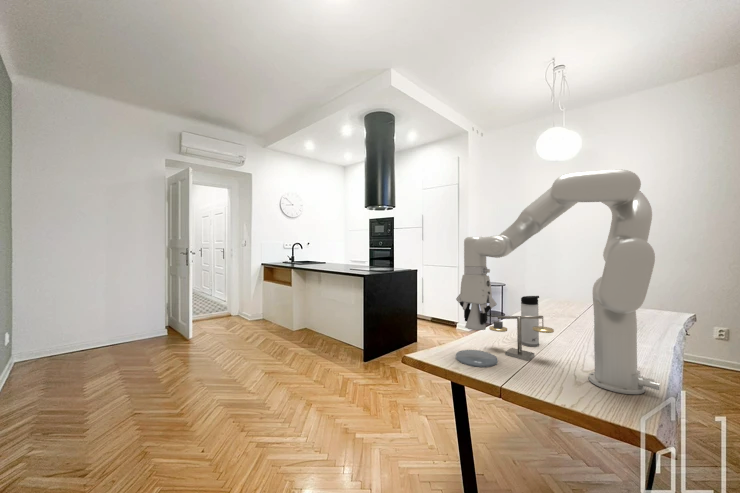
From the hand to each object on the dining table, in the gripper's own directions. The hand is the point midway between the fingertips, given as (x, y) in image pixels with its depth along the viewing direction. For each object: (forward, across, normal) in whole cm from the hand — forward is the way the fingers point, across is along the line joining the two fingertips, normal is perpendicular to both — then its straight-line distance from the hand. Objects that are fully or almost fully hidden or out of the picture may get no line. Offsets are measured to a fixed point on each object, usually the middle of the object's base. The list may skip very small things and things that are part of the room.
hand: (475, 321), depth 106 cm
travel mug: (+13, -7, -31) cm, 35 cm away
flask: (+2, 0, 0) cm, 2 cm away
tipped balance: (+13, -9, -15) cm, 22 cm away
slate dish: (+13, 0, 0) cm, 13 cm away
